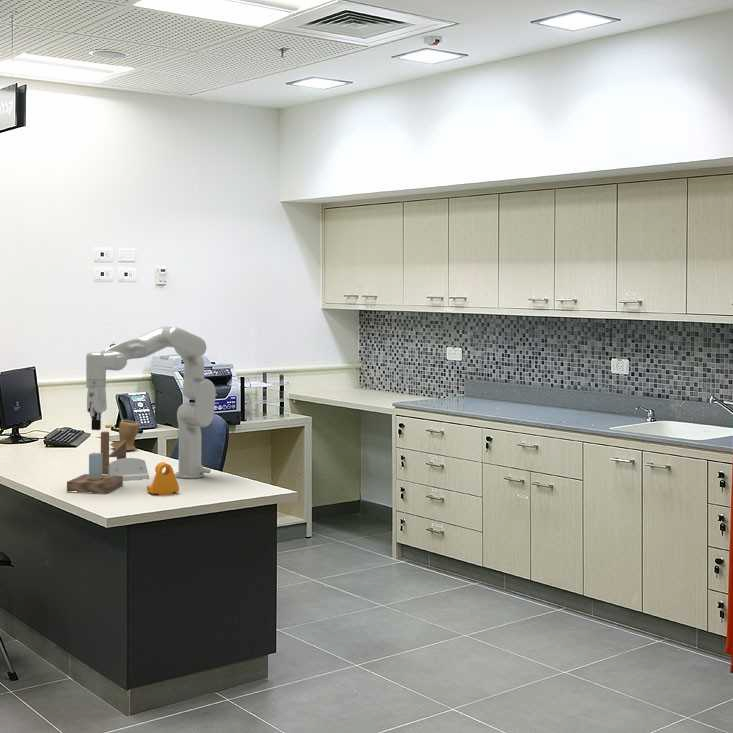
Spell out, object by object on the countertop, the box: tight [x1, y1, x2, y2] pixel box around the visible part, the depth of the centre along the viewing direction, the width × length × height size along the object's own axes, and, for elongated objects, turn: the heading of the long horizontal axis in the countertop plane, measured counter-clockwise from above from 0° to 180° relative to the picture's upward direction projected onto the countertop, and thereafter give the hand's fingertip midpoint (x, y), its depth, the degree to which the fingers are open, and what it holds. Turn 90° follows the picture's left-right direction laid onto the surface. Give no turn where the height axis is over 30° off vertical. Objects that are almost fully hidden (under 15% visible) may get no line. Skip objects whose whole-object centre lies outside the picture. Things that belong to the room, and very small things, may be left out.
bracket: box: [146, 462, 180, 496], centre depth 397 cm, size 11×7×12 cm, turn 121°
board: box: [66, 473, 124, 495], centre depth 402 cm, size 16×18×4 cm
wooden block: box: [100, 430, 127, 475], centre depth 438 cm, size 4×11×18 cm, turn 112°
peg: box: [88, 452, 103, 480], centre depth 402 cm, size 4×4×14 cm
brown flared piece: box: [109, 419, 140, 452], centre depth 504 cm, size 15×12×15 cm
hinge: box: [107, 457, 150, 482], centre depth 425 cm, size 17×5×10 cm, turn 121°
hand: (96, 429), depth 402 cm, fingers closed
